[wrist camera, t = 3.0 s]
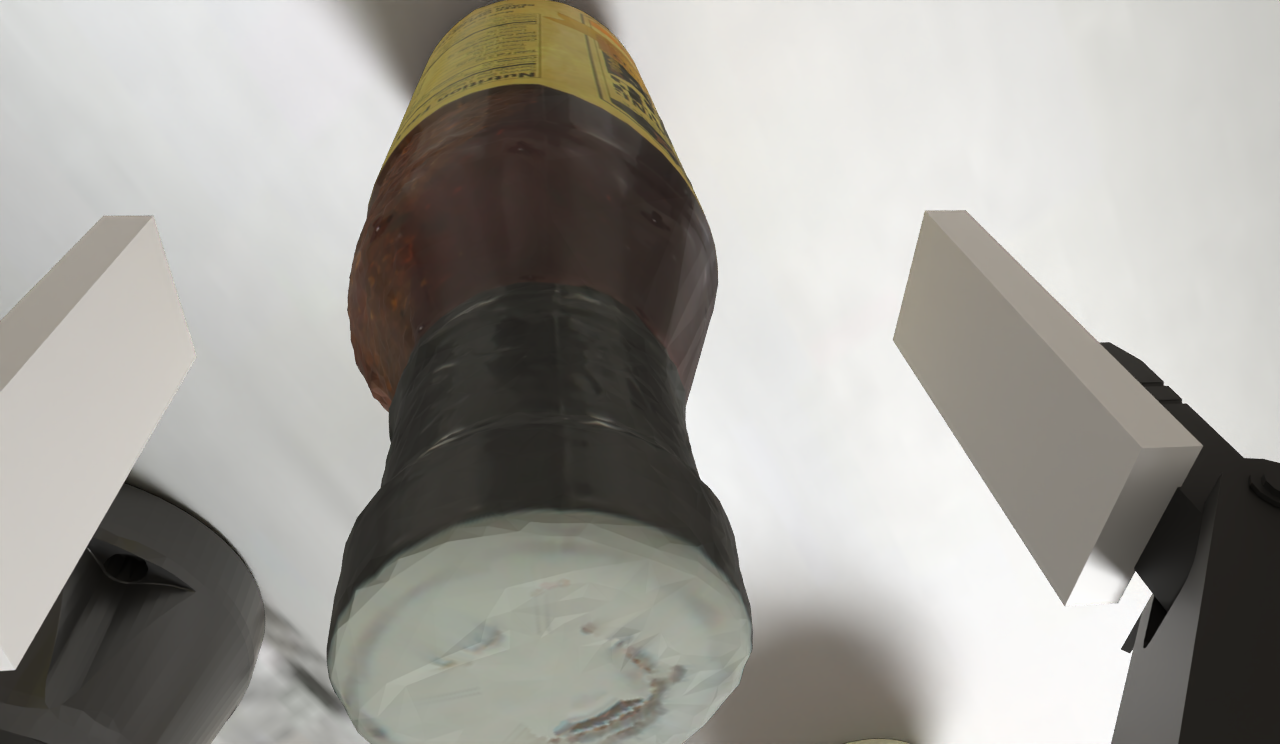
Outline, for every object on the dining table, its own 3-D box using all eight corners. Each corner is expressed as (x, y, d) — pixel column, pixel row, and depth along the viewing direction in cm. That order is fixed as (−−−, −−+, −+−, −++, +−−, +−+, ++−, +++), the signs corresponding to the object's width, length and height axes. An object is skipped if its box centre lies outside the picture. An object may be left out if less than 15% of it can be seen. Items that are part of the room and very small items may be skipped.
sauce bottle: (643, 194, 26) (841, 839, 10) (441, 209, 26) (314, 914, 10) (635, -36, 23) (929, 412, 7) (399, -23, 22) (82, 498, 6)
